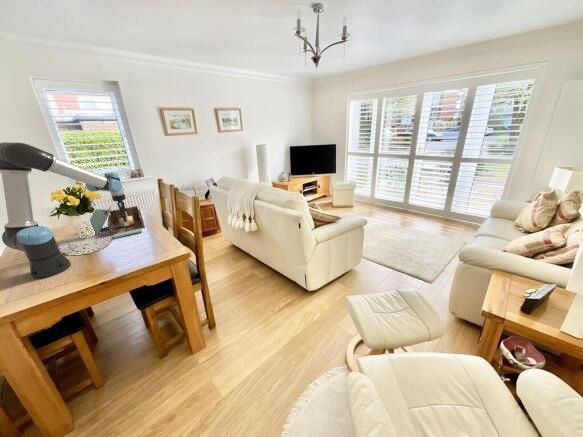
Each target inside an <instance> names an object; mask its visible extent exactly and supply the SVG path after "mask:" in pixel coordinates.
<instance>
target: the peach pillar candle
mask: <svg viewBox="0 0 583 437" xmlns="http://www.w3.org/2000/svg"><path fill="white" fill-rule="evenodd" d="M127 219H128V222H129V226H131V225H135V224H134V220H133V217H132V216H127ZM119 222H120V225H121V227H126V226H125V225H124V222H123V219H122V218H119Z"/></svg>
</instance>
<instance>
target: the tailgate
mask: <svg viewBox="0 0 583 437" xmlns="http://www.w3.org/2000/svg"><path fill="white" fill-rule="evenodd" d="M142 232H143V229H142V228H140V229H136V230H131V231H127V232H123V233H118V234H114V235H113V238H114V239H117V238H121V237H125V236H129V235H134V234H137V233H142Z"/></svg>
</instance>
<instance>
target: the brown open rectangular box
mask: <svg viewBox="0 0 583 437" xmlns="http://www.w3.org/2000/svg"><path fill="white" fill-rule="evenodd" d="M125 209H126V210H127V211H125V212H127V215H128V216H132V217H133V220H134V224H135V225H131V226H126V227H121V225H120V222H119V218H121V213H120V209H119V208H118V209H113V210H110V212H109V215H108V217H107V227H108V230H109V233H110V236H114V234H118V233H123V232H127V231H131V230H136V229H140V228H142V230H143V229H145V228H146V227H145V223H144V219H143V218H144V217H143V216H142V211H141V208H140V209H139V208H138V206H137V205H134V206H129V207H125Z"/></svg>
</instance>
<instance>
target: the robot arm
mask: <svg viewBox="0 0 583 437" xmlns="http://www.w3.org/2000/svg"><path fill="white" fill-rule="evenodd" d="M32 169H33V170H38V171H41V172H45V173H46V172H51V173H54V174H56V175H60V176H63V177H66V178H69V179H72V180H74V181H78V182H81V183H84V184H85V187H86V189H87V190H88V192H90V193H91V192H98V191H102V192H105V191H106V192H109V193H110V196H111V198H112V199H111V200H112V201H113V202H117V203H116V204H117V206H118V209H120V213H121V218H122V219H123V222H124V225H125V226H129V222H128V219H127V216H128V215H127V212H125V211H127V210H126V209H125V208H126V206H125V202H124V201H125V200H126V194H124V193H125V192H124V191H125V189H124V188H123V184H122V182H121V178H120V175H119V173H118V172H117V171H108V172H105V173H104V175H102V174H99V173H97V172H94V171H91V170H89V169H86V168H83V167H81V166H78V165H76V164H73V163H71V162H68V161H66V160H64V159H63V160H62V159H59V158H58V157H56V156H55V155H54V154H53V153H50V152H48V151H45V150H43V149H40V148H38V147H36V146H33V145H32V144H31V145H30V144H28V143H24V142H9V141H8V142H5V141H4V142H0V175H1V179H2V187H3V193H4V199H5V206H6V207H5V209H6V215H7V221H8V222H7V223H6V224H4V225H3V226H4V227H3V228H4V232H2V235H1V241H2V243H3V244H4V245H5V246H7V247H8V248H9V249H13V250H14V251H15V250H16V251H20V252H24V254H25V255H26V257H27V259H28V261H29V274H30V276H31V278H32V279H44V278H49V277H52V276H56V275H58V274H61V273H63V272H64V271H66V270H67V269H69V268H70V267H71V265H72V264H71V261H70V260H69V259H68V258H67V257H66V256H65V255H64V254H63V253H62V251H61V250H60V248H59V245H58V243H57V242H56V239H55V237H54V234H53V232H52V231H51V229H50V228H49V227H47V226H43V225H39V223H38V222H36V221H35V220H34V214H33V213H34V212H33V206H32V198H31V188H30V182H29V174H31V173H32V172H33V171H32Z"/></svg>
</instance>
